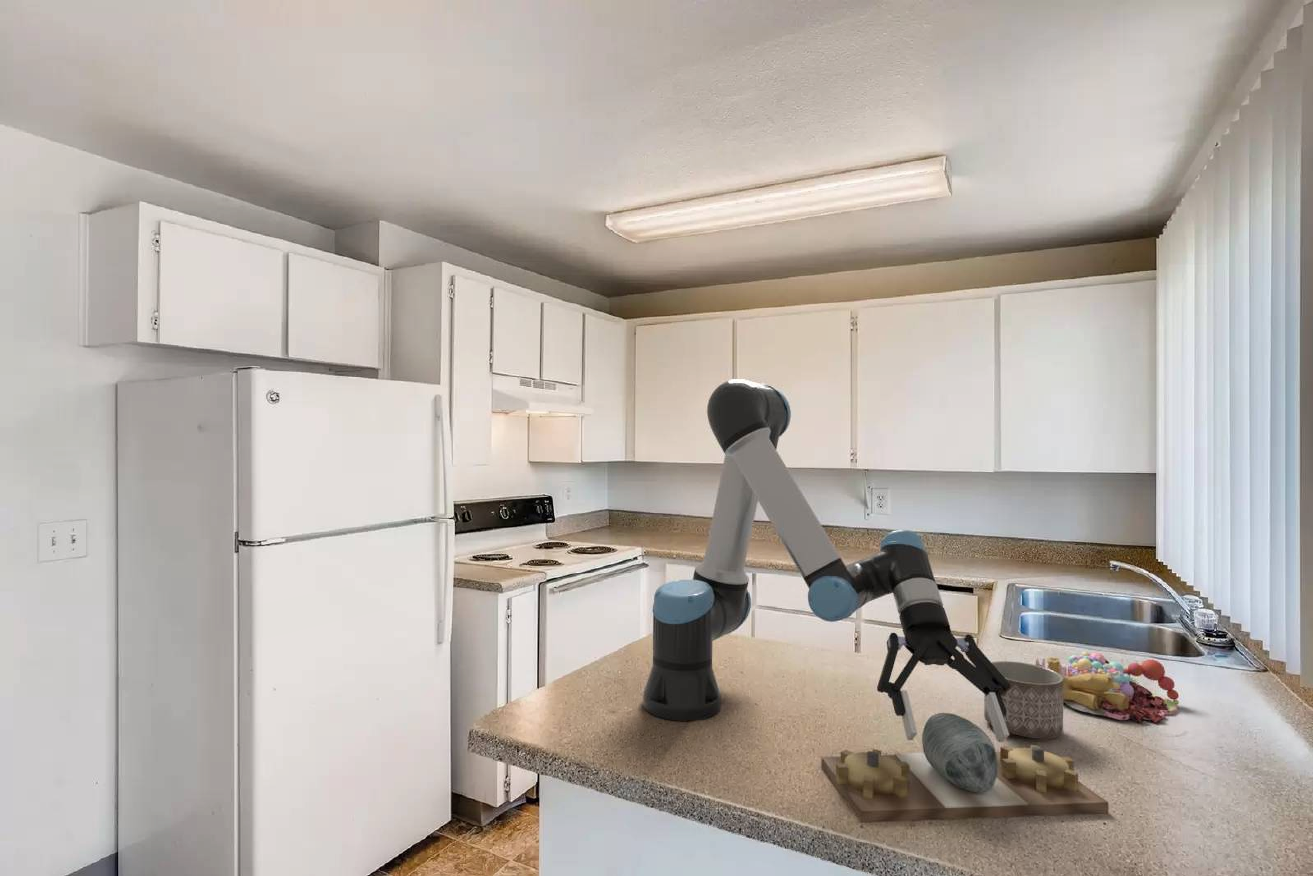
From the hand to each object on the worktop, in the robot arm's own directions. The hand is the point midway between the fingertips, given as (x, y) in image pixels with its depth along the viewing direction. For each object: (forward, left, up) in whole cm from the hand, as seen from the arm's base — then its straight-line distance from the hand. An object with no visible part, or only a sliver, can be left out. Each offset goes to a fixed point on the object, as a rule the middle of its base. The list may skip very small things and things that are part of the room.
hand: (958, 738), depth 101 cm
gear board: (0, +1, -8) cm, 8 cm away
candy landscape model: (+50, +34, -8) cm, 61 cm away
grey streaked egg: (0, +1, -6) cm, 6 cm away
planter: (+24, +21, -8) cm, 33 cm away
